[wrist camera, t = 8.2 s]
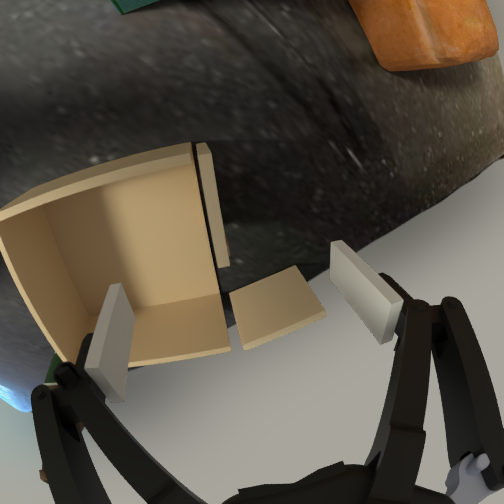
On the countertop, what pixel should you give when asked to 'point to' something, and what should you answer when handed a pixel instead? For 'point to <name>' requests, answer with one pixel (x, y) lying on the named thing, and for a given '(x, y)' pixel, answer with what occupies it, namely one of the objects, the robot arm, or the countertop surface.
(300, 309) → the flap
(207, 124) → the countertop surface
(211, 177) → the flap
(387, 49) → the bread
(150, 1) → the milk carton
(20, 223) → the carton
